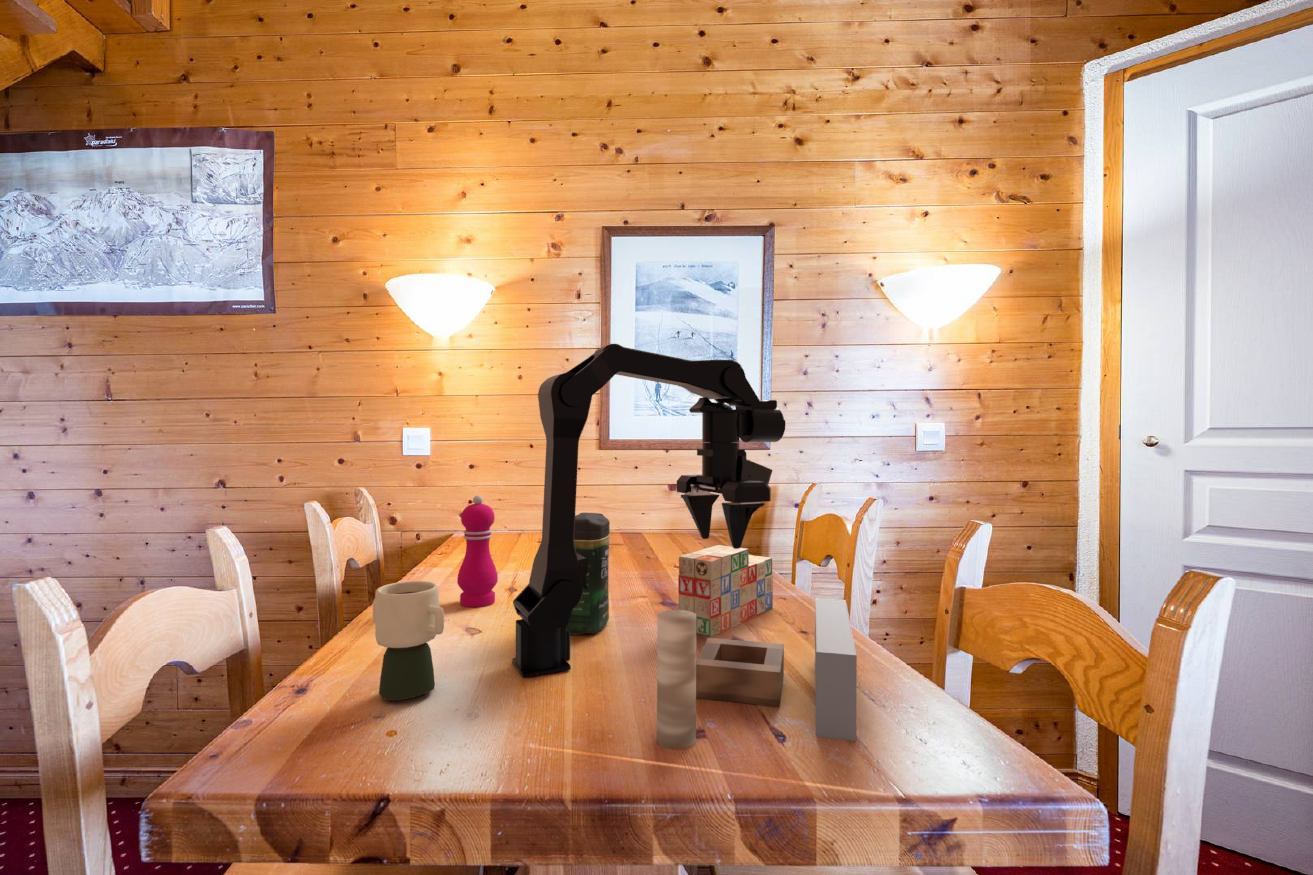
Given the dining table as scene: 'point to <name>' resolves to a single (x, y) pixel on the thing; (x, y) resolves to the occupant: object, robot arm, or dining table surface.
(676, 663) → the dowel
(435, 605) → the character mug
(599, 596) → the coffee jar
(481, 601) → the pepper mill
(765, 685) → the socket block
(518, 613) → the robot arm
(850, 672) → the board
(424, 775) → the dining table surface
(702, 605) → the stack of blocks
